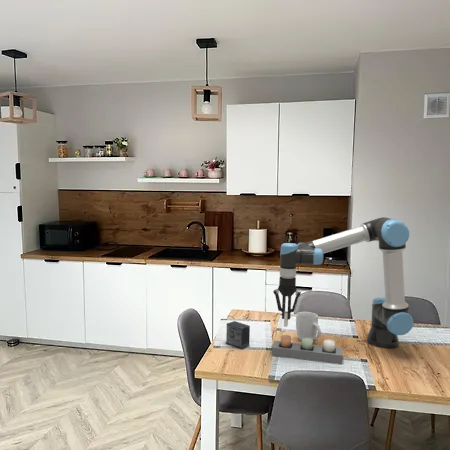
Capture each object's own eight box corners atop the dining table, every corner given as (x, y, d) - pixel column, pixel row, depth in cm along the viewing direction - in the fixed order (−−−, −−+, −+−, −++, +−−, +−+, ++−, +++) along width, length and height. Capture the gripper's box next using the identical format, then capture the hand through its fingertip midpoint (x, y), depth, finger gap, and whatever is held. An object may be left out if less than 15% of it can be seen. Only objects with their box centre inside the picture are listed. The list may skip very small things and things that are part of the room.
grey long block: (342, 356, 203) (342, 348, 202) (342, 364, 194) (342, 355, 194) (274, 348, 211) (274, 340, 210) (271, 355, 202) (271, 347, 202)
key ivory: (334, 348, 201) (335, 340, 201) (334, 352, 196) (334, 344, 196) (323, 347, 203) (324, 338, 202) (323, 351, 198) (323, 342, 197)
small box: (250, 345, 214) (250, 325, 213) (241, 349, 209) (242, 328, 208) (234, 340, 221) (234, 320, 220) (225, 343, 216) (225, 323, 215)
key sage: (312, 345, 204) (313, 337, 203) (312, 350, 199) (312, 341, 199) (302, 344, 205) (302, 336, 205) (301, 348, 200) (301, 340, 200)
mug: (327, 343, 218) (328, 318, 217) (311, 347, 212) (312, 322, 211) (306, 334, 230) (307, 310, 229) (290, 338, 224) (291, 313, 223)
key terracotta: (291, 343, 206) (291, 335, 206) (290, 347, 202) (290, 339, 201) (281, 342, 208) (281, 334, 207) (279, 346, 203) (279, 338, 202)
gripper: (302, 275, 203) (300, 324, 205) (274, 273, 206) (273, 321, 209) (301, 279, 196) (299, 329, 198) (272, 277, 199) (270, 326, 201)
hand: (285, 325), depth 203 cm, fingers closed
